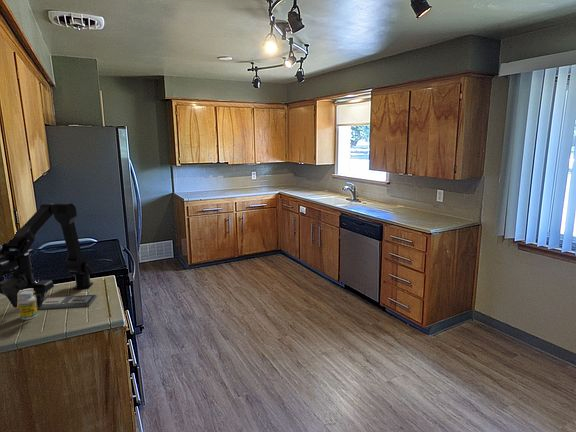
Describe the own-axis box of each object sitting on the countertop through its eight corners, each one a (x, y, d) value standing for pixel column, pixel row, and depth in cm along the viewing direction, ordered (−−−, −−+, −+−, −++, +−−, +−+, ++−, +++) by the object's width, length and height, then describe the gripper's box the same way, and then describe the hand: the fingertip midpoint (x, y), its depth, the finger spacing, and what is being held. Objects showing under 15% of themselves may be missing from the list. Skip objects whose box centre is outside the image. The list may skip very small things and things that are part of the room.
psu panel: (45, 300, 158) (45, 296, 157) (96, 297, 160) (96, 294, 160) (34, 309, 149) (34, 306, 149) (88, 306, 152) (88, 303, 151)
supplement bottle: (37, 312, 146) (34, 289, 144) (37, 317, 142) (34, 293, 140) (20, 315, 143) (17, 292, 142) (20, 321, 139) (16, 297, 137)
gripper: (-22, 275, 131) (-15, 316, 134) (31, 275, 131) (37, 317, 134) (3, 264, 142) (9, 303, 145) (52, 265, 142) (57, 304, 145)
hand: (27, 307), depth 142 cm, fingers open, 9 cm apart
